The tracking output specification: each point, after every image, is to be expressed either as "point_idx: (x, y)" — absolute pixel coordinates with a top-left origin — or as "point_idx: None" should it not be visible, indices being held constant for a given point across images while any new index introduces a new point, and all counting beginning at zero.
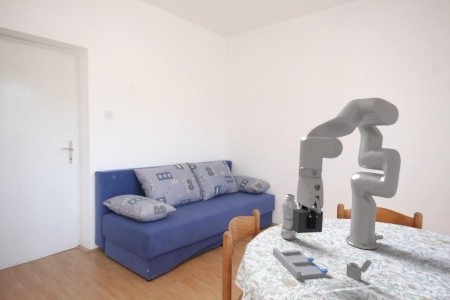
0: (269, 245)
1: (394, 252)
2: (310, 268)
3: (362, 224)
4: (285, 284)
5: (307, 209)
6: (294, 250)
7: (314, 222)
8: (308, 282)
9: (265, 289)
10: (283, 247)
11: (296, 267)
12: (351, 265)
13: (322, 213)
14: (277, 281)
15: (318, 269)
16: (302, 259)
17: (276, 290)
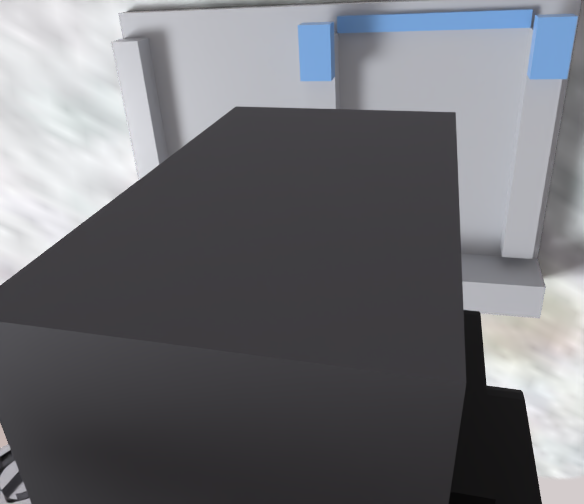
0: (2, 199)
1: None
2: (412, 97)
3: None
4: (536, 354)
5: None
6: (123, 91)
7: (531, 462)
8: (571, 209)
9: (543, 461)
10: (20, 108)
11: (470, 282)
12: None
13: (464, 354)
14: (488, 377)
15: (445, 33)
16: (253, 78)
17: (575, 423)
